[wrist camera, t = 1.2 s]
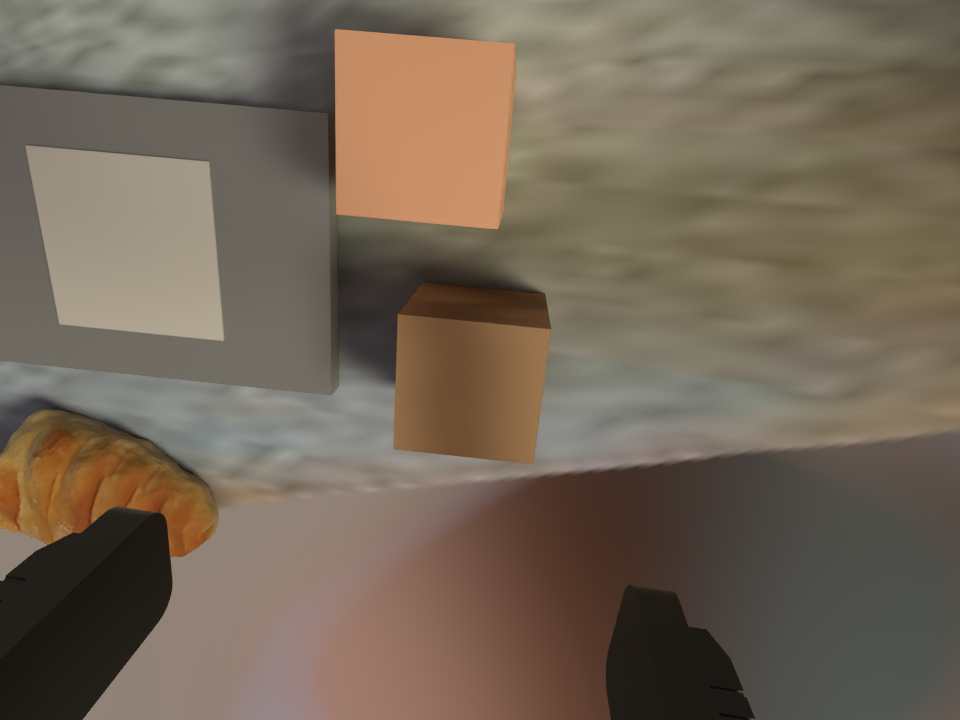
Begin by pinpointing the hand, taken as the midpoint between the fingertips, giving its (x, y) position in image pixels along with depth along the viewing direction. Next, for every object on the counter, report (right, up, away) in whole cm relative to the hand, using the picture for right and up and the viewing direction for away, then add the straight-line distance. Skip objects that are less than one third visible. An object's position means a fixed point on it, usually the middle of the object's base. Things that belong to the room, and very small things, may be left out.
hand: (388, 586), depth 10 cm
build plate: (-12, +9, +13) cm, 20 cm away
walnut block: (+2, +5, +14) cm, 15 cm away
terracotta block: (0, +12, +11) cm, 17 cm away
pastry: (-16, -2, +18) cm, 24 cm away
